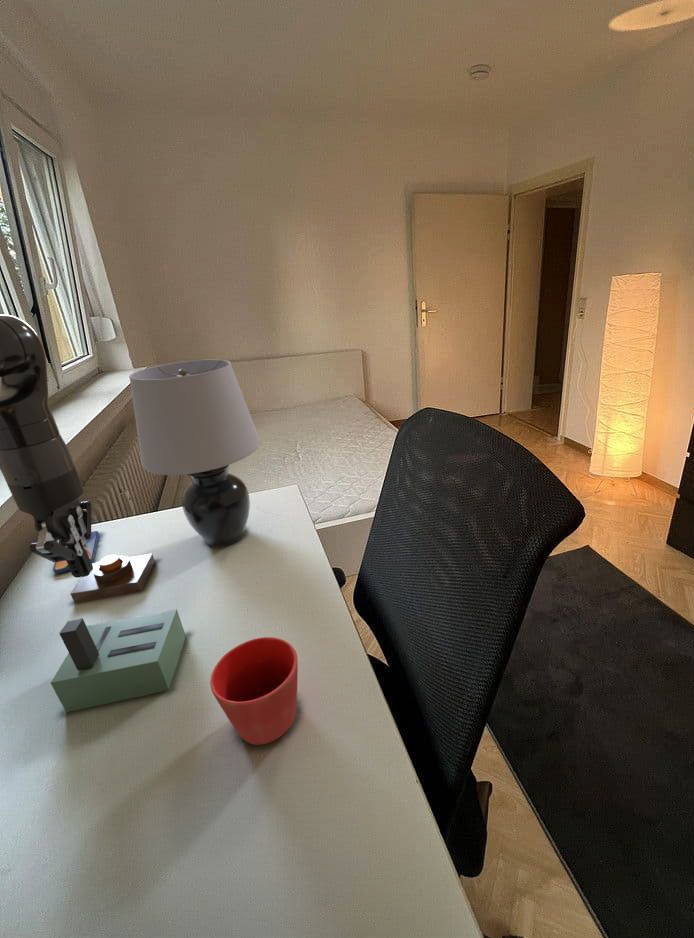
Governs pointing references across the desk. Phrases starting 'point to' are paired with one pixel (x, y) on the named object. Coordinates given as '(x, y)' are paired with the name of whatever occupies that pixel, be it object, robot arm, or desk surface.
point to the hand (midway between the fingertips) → (84, 573)
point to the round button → (109, 563)
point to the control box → (114, 579)
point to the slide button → (79, 644)
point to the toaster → (124, 661)
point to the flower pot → (258, 688)
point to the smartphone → (91, 550)
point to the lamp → (197, 440)
